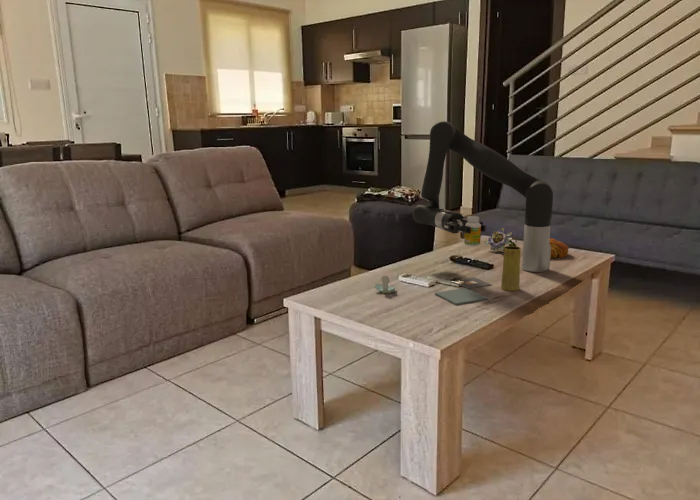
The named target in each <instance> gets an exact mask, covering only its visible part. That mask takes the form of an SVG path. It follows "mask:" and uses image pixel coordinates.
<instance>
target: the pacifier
mask: <svg viewBox="0 0 700 500" xmlns="http://www.w3.org/2000/svg"><path fill="white" fill-rule="evenodd" d="M380 280H381V282H382V284H379V283H377V284H376V283H375V284H374V288H375V290H377V291H379V292H381V293H382V294H391V293H396V292H398V290H397V289H396V288H397V286H389V283H390V281H391V280H390V278H389V276H388V275H386V274H383V275H382V276H381V279H380Z"/></svg>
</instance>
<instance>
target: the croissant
mask: <svg viewBox="0 0 700 500" xmlns="http://www.w3.org/2000/svg"><path fill="white" fill-rule="evenodd" d="M549 244H550V245H551V254H550V259H564V258H565V257H567V256H568V254H569V249H570V248H569V246H568V245H567V244H566V243H564V242H562V241H559V240H557V239H556V238H551V237H550V239H549Z"/></svg>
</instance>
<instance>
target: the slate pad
mask: <svg viewBox="0 0 700 500" xmlns="http://www.w3.org/2000/svg"><path fill="white" fill-rule="evenodd" d="M434 295H435V296H437V297H439V298H441V299H443V300H445V301H447V302H448V303H450V304H453V305H454V306H458V305H459V306H460V305H465V304H471V303H475V302H483V301H488V297H487V296H484V295H483V294H480V293H478V292H476V291H474V290H470V289H467V288H464V287H462V288H456V289H455V288H454V289H450V290H445V291H443V290H442V291H438V292H434Z"/></svg>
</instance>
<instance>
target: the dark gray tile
mask: <svg viewBox="0 0 700 500" xmlns="http://www.w3.org/2000/svg"><path fill="white" fill-rule="evenodd" d="M459 280H460V281H464V283H463V284H461V285H459V286H460V287H462V288H467V289H469V290H470V289H476V288H483V287H487V286H492V284H491V283H489V282H486V281H484V280H481V279H479V278H478V277H477V278H476V277H474V276H473V277H467V278H461V279H459Z"/></svg>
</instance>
